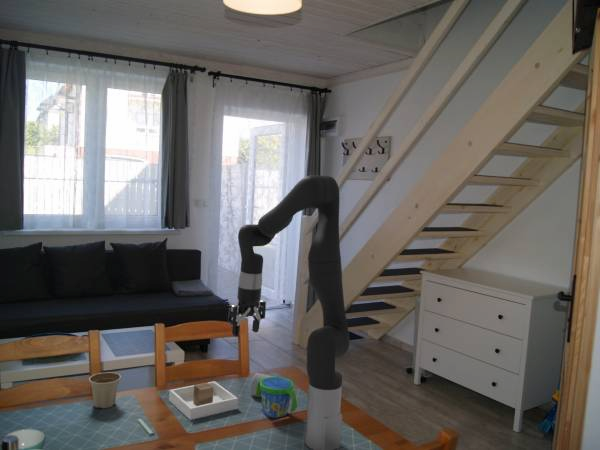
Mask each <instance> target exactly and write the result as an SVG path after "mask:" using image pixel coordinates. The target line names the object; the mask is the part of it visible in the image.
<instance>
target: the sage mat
mask: <svg viewBox="0 0 600 450" xmlns="http://www.w3.org/2000/svg"><path fill="white" fill-rule="evenodd" d="M137 422H138V424H139V425H141V427H142V428H143V429H144V431H145V432H146V433H147V434H148V435H149V436H154V435H155V433H154V432H153V430H152V429H151V428H150V427H149V426H148V425H147V423H146V422H144V420H143V419H142V418H137Z"/></svg>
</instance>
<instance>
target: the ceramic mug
mask: <svg viewBox="0 0 600 450" xmlns="http://www.w3.org/2000/svg"><path fill="white" fill-rule="evenodd" d="M268 377H275V376H274V375H267V374H264V373H259V372H255V373H254V375H253V377H252V379H251V386H250V395H251V397H257V396H256V389H257V385H258V383H259V381H261V380H263V379H264V378H268ZM259 398H262V395H261V396H260V397H259Z"/></svg>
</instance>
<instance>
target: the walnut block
mask: <svg viewBox="0 0 600 450" xmlns="http://www.w3.org/2000/svg"><path fill="white" fill-rule="evenodd" d="M193 403H194V404H195V405H196V406H200V405H204V404H209V403H213V387H212V386H211V385H210V384H208V382H202V383H197V384H194V399H193Z"/></svg>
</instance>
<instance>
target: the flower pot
mask: <svg viewBox="0 0 600 450" xmlns="http://www.w3.org/2000/svg"><path fill="white" fill-rule="evenodd" d="M121 379H122V375H121V374H119V373H116V372H110V371H109V372H108V371H107V372H99V373H96V374H92V375H91V376H89V378H88V382H89V383H90V386H91V392H92V401H93V406H94V408H97V409H99V408H101V409H107V408H111V407H113V405H115V404H116V399H117V393H118V387H119V383H120V380H121Z"/></svg>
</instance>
